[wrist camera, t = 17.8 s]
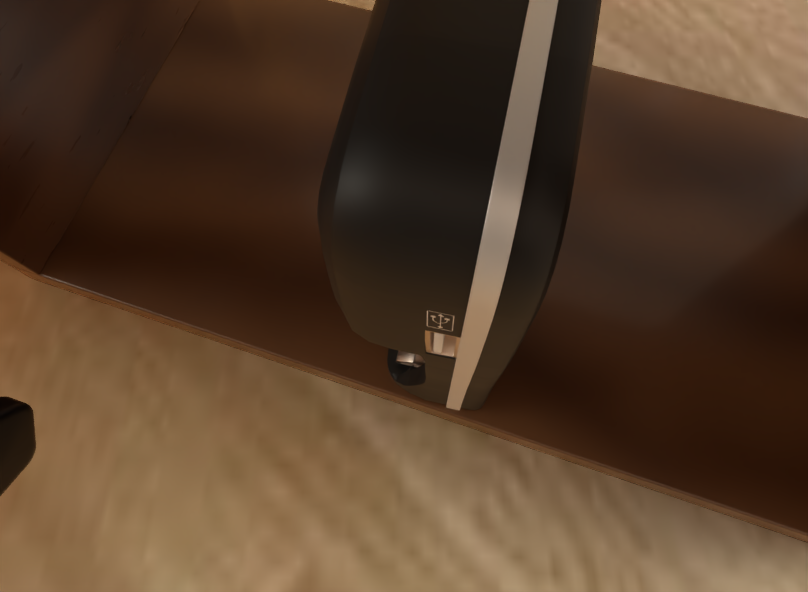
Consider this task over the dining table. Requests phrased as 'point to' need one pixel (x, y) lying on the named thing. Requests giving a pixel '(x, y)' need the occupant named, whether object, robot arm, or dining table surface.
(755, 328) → the brown wooden cubby shelf
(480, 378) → the black rounded piece
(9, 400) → the robot arm
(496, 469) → the dining table surface
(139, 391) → the dining table surface
